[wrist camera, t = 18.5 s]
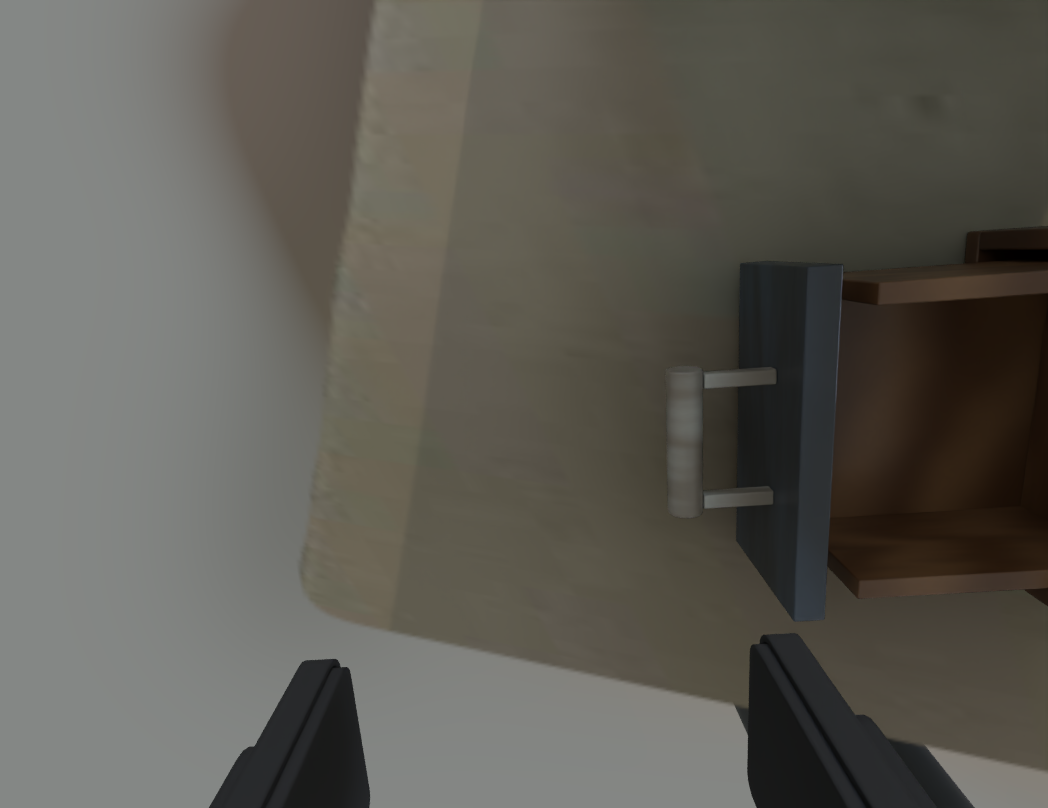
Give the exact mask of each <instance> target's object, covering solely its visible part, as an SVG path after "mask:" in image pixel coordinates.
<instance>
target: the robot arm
mask: <svg viewBox="0 0 1048 808" xmlns="http://www.w3.org/2000/svg"><path fill="white" fill-rule="evenodd" d="M747 769H748V771H747V772H748V781H749V786H750V790H751V794H752V797H753V800H754V802H755V804H756V807H757V808H937V807H936V805H935V804H934V803H933V801H932V800H931V799H930V797H929V796H928V795H927V793H926V792H925V790H924V789H923V788H922V786H921V785H920V784H919V782H918V781H917V779H916V778H915V777H914V775H913V774H912V773H911V771H910V770H909V769H908V767H907V766H906V764H905V763H904V762H903V760H902V759H901V758H900V756H899V755H898V754H897V752H896V751H895V749H894V748H893V747H892V745H891V744H890V743H889V741H888V740H887V738H886V737H885V736H884V734H883V733H882V732H881V730H880V729H879V728H878V726H877V725H876V724H875V723H874V722H873V721H872V719H871V718H869V717H867V716H865V715H855V714H854V713H853V711H852V710H851V709H850V707H849V706H848V704H847V703H846V701H845V700H844V699H843V697H842V696H841V694H840V693H839V692H838V690H837V689H836V687H835V686H834V684H833V683H832V682H831V680H830V679H829V677H828V676H827V674H826V673H825V672H824V670H823V669H822V667H821V666H820V664H819V663H818V662H817V660H816V659H815V657H814V656H813V654H812V653H811V652H810V650H809V649H808V647H807V646H806V644H805V643H804V642H803V640H802V639H801V637H800V636H799V635H798V634H795V633H789V634H771V635H763V636H761V639H760V644H753V645H751V648H750V671H749V719H748V767H747ZM369 805H370V790H369V784H368V777H367V771H366V765H365V759H364V753H363V747H362V740H361V734H360V728H359V722H358V716H357V710H356V704H355V698H354V691H353V685H352V679H351V674H350V670H349V668H347V667H342V668H341V667H340V663H339V662H338V660H336V659H325V660H307V661H304V662H302V663H301V665H300V666H299V668H298V670H297V671H296V673H295V675H294V677H293V678H292V680H291V682H290V684H289V686H288V687H287V689H286V691H285V693H284V695H283V697H282V698H281V700H280V702H279V703H278V705H277V707H276V709H275V711H274V712H273V714H272V716H271V718H270V720H269V721H268V723H267V725H266V727H265V729H264V730H263V732H262V734H261V736H260V738H259V739H258V741H257V743H256V745H255V746H254V747H248V748H247V749H245V750H244V751H243V752H242V753H241V754H240V756H239V757H238V759H237V760H236V762H235V764H234V765H233V767H232V769H231V770H230V772H229V774H228V776H227V777H226V779H225V781H224V783H223V784H222V786H221V788H220V790H219V791H218V793H217V795H216V796H215V798H214V800H213V802H212V803H211V805H210V807H209V808H369Z"/></svg>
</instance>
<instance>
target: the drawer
mask: <svg viewBox="0 0 1048 808" xmlns="http://www.w3.org/2000/svg"><path fill="white" fill-rule="evenodd" d="M727 387H738V449H737V488H731V489H715V490H703V388H704V389H712V388H727ZM666 432H667V495H668V512H669V513H670V514H671V515H673V516H675V517H679V518H695V517H698V516H700V515H701V514H702V512H703V507H704V508H705V509H707V508H723V507H737V523H736V541H737V542H738V544H739V545H740V547H741V548H742V549H743V551H744V552H745V554H746V555H747V556H748V558H749V559H750V561H751V562H752V563H753V565H754V566H755V568H756V569H757V570H758V572H759V573H760V575H761V576H762V577H763V579H764V580H765V582H766V583H767V584H768V586H769V587H770V589H771V590H772V592H773V593H774V594H775V596H776V597H777V599H778V600H779V601H780V603H781V604H782V606H783V607H784V608H785V610H786V611H787V613H788V614H789V615H790V617H791V618H792V620H793V621H795V622H796V621H814V620H824V617H825V598H826V579H827V567H828V568H829V569H830V570H831V571H832V572H833V573H834V574H835V575H836V576H837V577H838V578H839V579H840V580H841V581H842V582H843V583H844V585H845V586H846V587H847V588H848V589H849V590H850V591H851V592H852V593H853V594H854V595H855V596H856V597H857V598H858V599H865V598H882V597H900V596H917V595H934V594H952V593H969V592H987V591H1004V590H1021V589H1039V588H1048V257H1047V258H1033V259H1019V260H1005V261H992V262H978V263H964V264H950V265H936V266H922V267H908V268H895V269H881V270H867V271H853V272H843V264H831V263H804V262H778V261H760V262H746V263H740V303H739V369H732V370H717V371H703V370H702V368H699V367H695V366H676V367H671V368H668V369H666Z"/></svg>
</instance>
